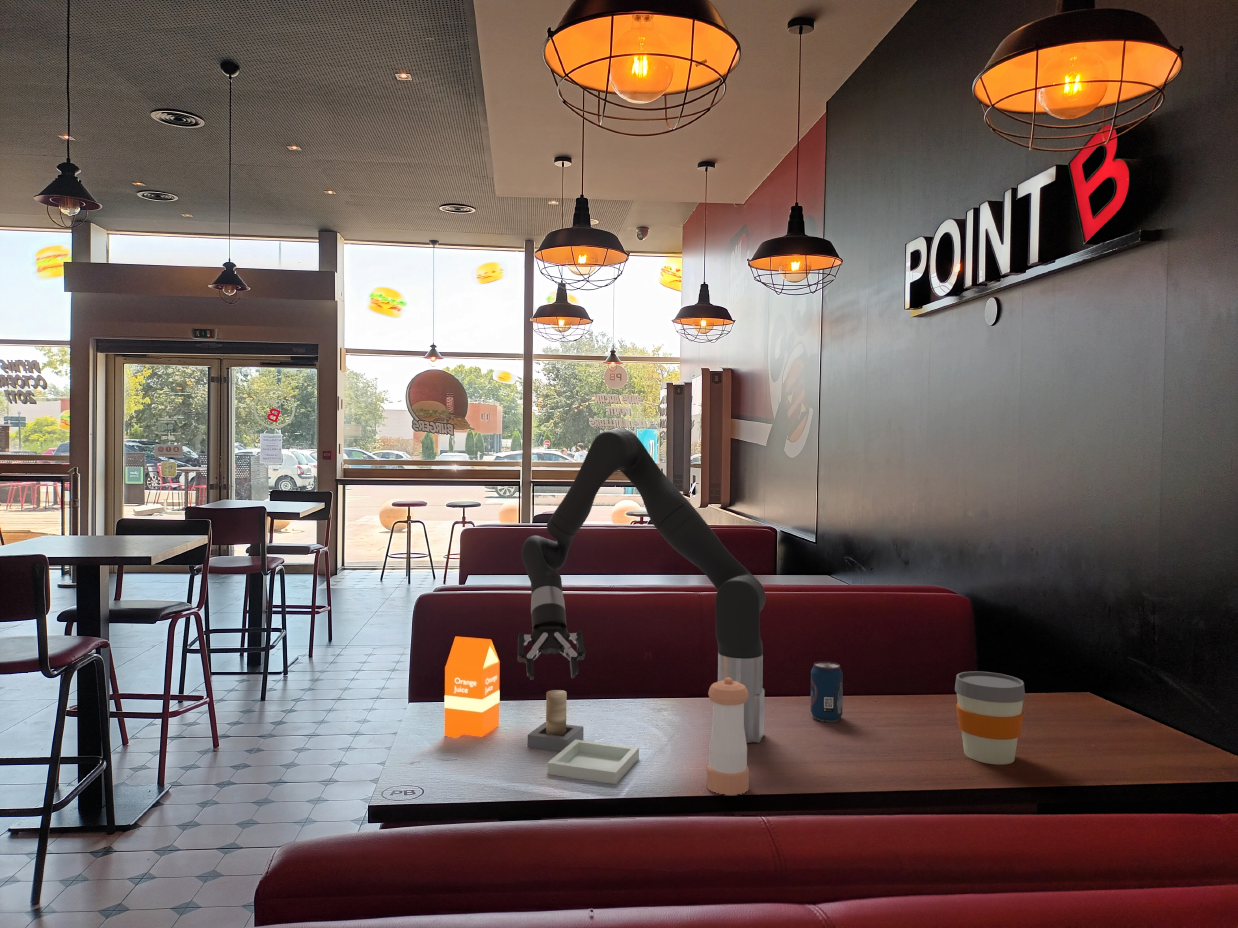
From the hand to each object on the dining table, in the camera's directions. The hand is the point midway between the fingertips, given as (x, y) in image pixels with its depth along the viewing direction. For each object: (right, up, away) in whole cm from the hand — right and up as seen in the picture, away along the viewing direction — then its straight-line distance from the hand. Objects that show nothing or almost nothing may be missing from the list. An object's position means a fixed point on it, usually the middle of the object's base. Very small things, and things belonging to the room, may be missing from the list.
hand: (553, 676), depth 165 cm
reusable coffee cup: (+86, -13, -9) cm, 88 cm away
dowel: (+1, -11, -7) cm, 13 cm away
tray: (+9, -12, -19) cm, 24 cm away
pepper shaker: (+33, -13, -25) cm, 43 cm away
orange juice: (-17, -12, +2) cm, 21 cm away
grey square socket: (+1, -12, -7) cm, 14 cm away
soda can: (+60, -13, +14) cm, 63 cm away
